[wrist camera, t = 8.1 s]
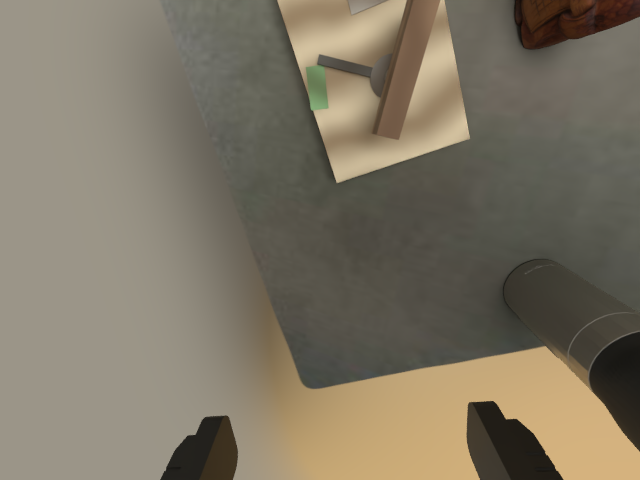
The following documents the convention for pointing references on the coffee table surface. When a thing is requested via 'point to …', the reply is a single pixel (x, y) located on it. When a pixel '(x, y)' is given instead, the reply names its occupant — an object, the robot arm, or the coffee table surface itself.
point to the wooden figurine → (569, 19)
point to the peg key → (396, 67)
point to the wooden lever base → (355, 90)
